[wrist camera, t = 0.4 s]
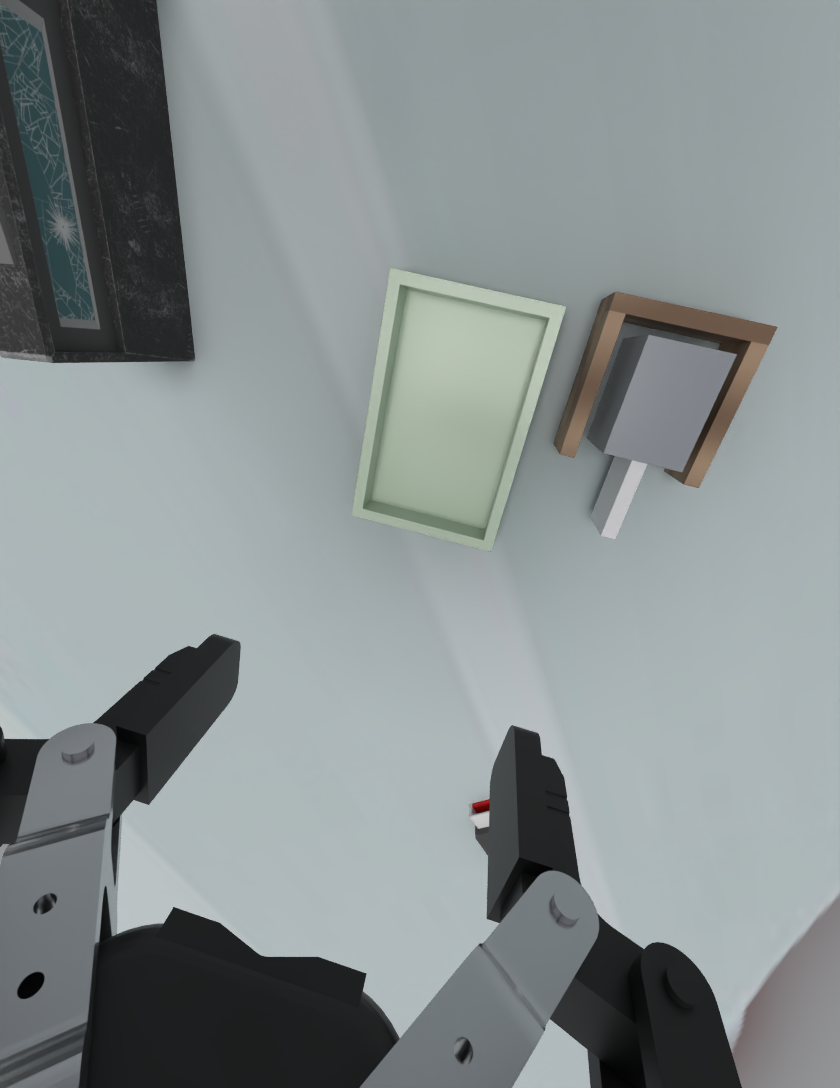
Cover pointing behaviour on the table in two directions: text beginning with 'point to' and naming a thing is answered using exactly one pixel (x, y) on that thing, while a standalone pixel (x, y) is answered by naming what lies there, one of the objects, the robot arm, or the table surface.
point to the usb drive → (481, 822)
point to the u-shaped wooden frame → (728, 331)
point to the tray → (451, 405)
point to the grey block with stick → (652, 415)
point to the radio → (88, 187)
